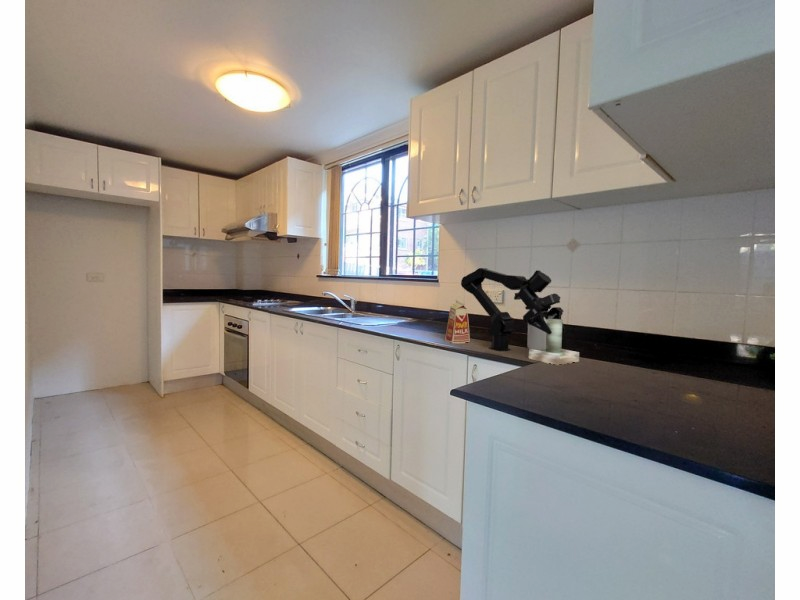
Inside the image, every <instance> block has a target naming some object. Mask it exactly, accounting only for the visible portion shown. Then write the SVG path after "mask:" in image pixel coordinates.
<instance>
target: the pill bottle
mask: <svg viewBox="0 0 800 600" xmlns="http://www.w3.org/2000/svg"><path fill="white" fill-rule="evenodd" d="M545 322H546V323H547V320H545ZM526 341H527V344H526V347H527V349H528V350H529V349H535V350H540V351H543V350H546V332H544V331H542V330H540V329H538V328H536V327H534V326H532V325H529V323H527V340H526Z"/></svg>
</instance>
